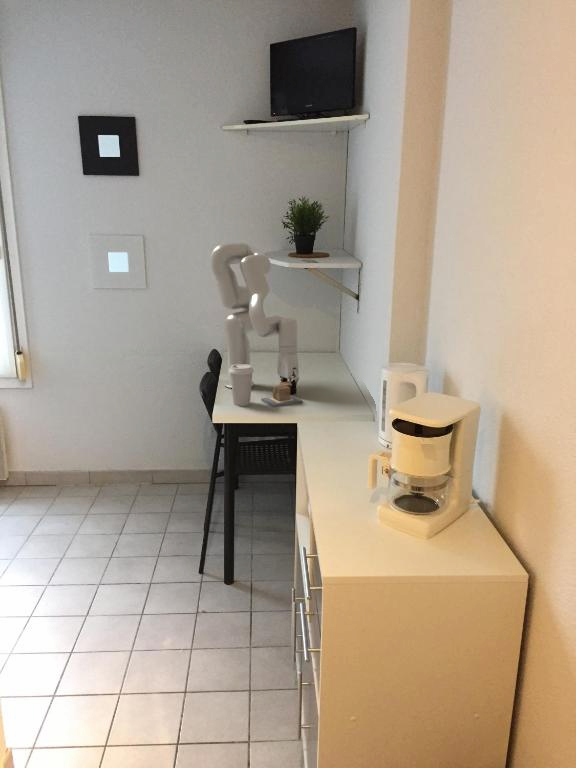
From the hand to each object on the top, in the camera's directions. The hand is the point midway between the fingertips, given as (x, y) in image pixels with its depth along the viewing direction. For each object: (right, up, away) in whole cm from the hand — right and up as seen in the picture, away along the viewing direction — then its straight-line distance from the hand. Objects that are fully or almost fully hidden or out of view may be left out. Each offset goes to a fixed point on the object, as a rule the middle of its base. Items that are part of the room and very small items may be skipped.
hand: (288, 392), depth 267 cm
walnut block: (-3, -3, -10) cm, 10 cm away
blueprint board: (-3, -4, -9) cm, 10 cm away
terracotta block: (0, -1, 0) cm, 1 cm away
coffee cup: (-18, -4, -12) cm, 22 cm away
